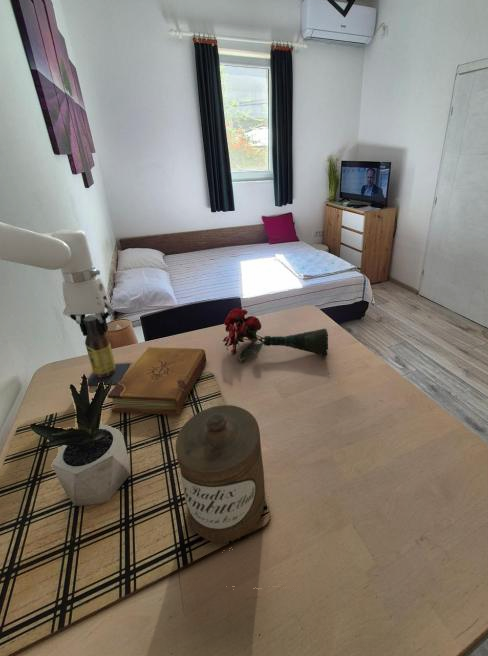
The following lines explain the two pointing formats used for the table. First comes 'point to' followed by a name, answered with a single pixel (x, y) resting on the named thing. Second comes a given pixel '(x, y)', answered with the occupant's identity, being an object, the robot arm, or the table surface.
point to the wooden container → (222, 472)
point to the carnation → (249, 327)
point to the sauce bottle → (98, 348)
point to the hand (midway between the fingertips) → (95, 332)
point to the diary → (158, 381)
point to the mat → (115, 376)
